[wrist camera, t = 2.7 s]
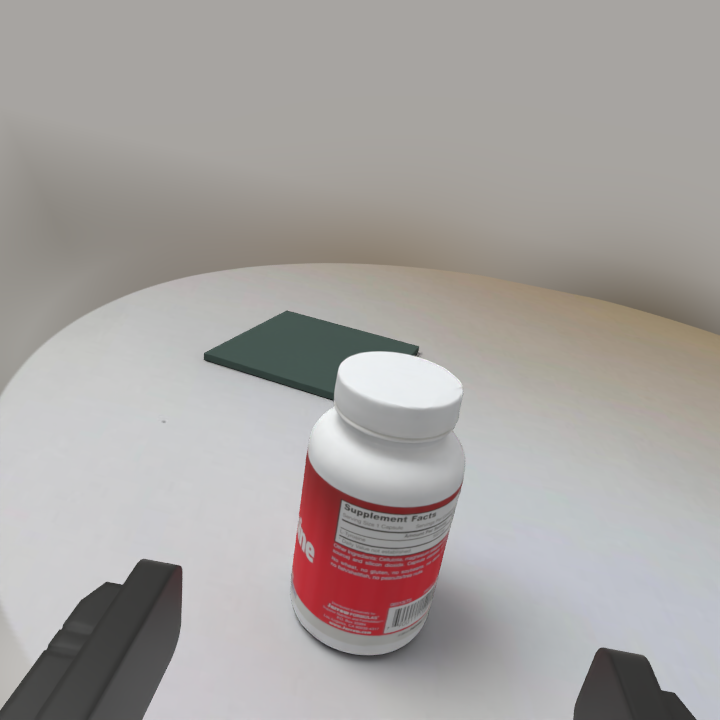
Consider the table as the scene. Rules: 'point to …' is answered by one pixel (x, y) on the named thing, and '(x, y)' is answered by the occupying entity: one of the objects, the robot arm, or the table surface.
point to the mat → (300, 351)
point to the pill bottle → (377, 502)
